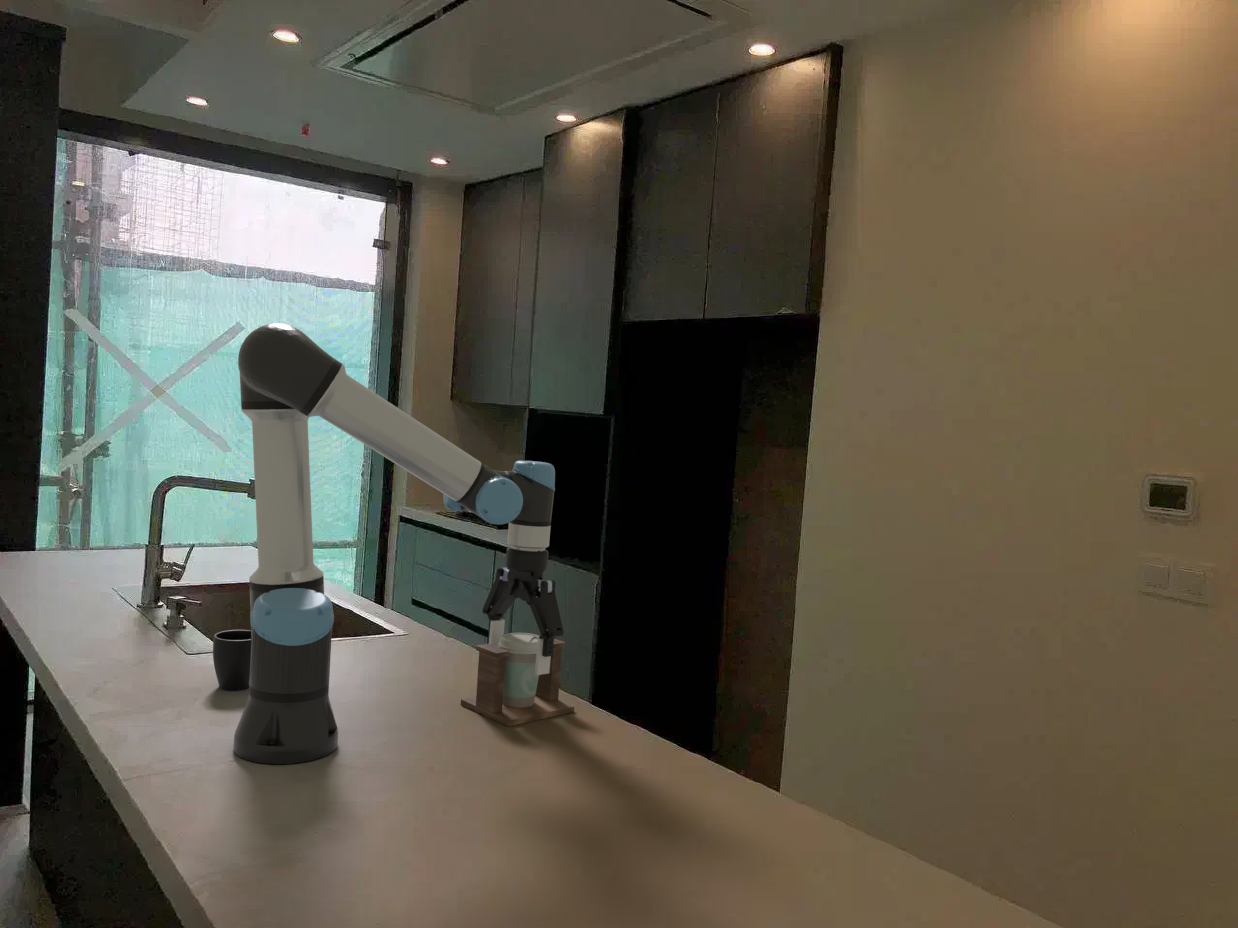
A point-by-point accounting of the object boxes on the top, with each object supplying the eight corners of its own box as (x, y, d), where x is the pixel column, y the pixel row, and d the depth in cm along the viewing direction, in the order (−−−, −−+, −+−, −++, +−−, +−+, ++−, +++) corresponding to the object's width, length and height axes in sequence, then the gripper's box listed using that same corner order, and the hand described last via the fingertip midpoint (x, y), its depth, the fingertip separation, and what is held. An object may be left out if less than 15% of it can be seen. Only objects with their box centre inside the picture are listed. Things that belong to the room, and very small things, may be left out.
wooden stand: (506, 726, 166) (511, 658, 165) (458, 704, 176) (462, 640, 175) (575, 711, 177) (580, 647, 176) (526, 691, 187) (531, 630, 186)
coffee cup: (518, 713, 170) (523, 645, 170) (484, 701, 176) (488, 636, 175) (551, 703, 177) (555, 638, 176) (516, 692, 182) (521, 629, 182)
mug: (287, 685, 180) (289, 634, 180) (223, 695, 172) (225, 642, 171) (266, 674, 186) (268, 625, 186) (203, 684, 177) (205, 632, 177)
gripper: (590, 558, 169) (579, 679, 170) (502, 536, 186) (492, 645, 187) (557, 560, 163) (546, 684, 164) (469, 537, 181) (460, 649, 182)
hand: (517, 664), depth 176 cm, fingers open, 13 cm apart
